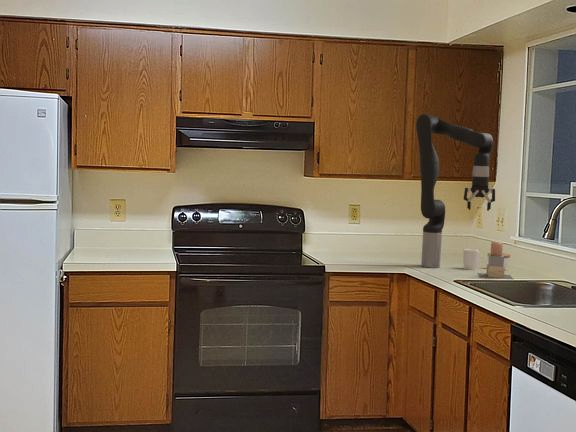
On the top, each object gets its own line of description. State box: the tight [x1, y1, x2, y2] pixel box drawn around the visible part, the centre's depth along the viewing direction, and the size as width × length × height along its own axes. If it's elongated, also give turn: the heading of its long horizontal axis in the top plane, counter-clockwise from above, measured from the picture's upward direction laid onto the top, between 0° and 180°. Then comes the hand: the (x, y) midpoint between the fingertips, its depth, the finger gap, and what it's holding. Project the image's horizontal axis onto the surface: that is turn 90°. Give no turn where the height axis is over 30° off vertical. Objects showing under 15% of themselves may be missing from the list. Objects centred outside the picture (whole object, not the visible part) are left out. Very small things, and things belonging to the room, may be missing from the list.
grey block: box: [487, 254, 504, 267], centre depth 343 cm, size 6×6×4 cm
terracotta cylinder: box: [489, 241, 504, 256], centre depth 342 cm, size 5×5×6 cm
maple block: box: [486, 263, 506, 278], centre depth 343 cm, size 7×7×5 cm
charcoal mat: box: [476, 272, 515, 280], centre depth 344 cm, size 13×15×1 cm
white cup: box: [462, 248, 481, 271], centre depth 364 cm, size 8×8×10 cm
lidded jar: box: [487, 252, 511, 270], centre depth 369 cm, size 11×11×9 cm
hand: (478, 210), depth 352 cm, fingers open, 8 cm apart
